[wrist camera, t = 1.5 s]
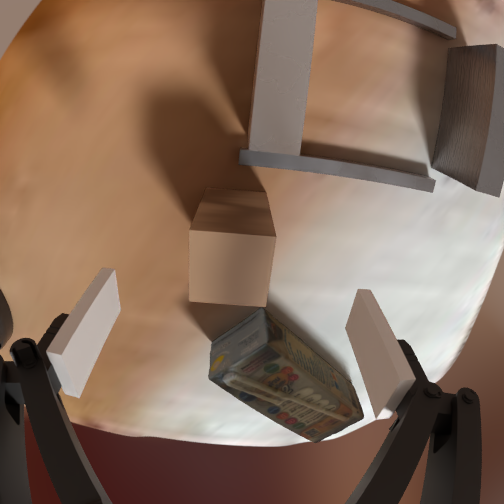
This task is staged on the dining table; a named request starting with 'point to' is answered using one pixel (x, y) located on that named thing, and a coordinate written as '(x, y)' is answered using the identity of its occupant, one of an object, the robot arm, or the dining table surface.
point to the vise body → (451, 123)
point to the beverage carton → (283, 378)
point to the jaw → (281, 76)
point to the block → (231, 248)
